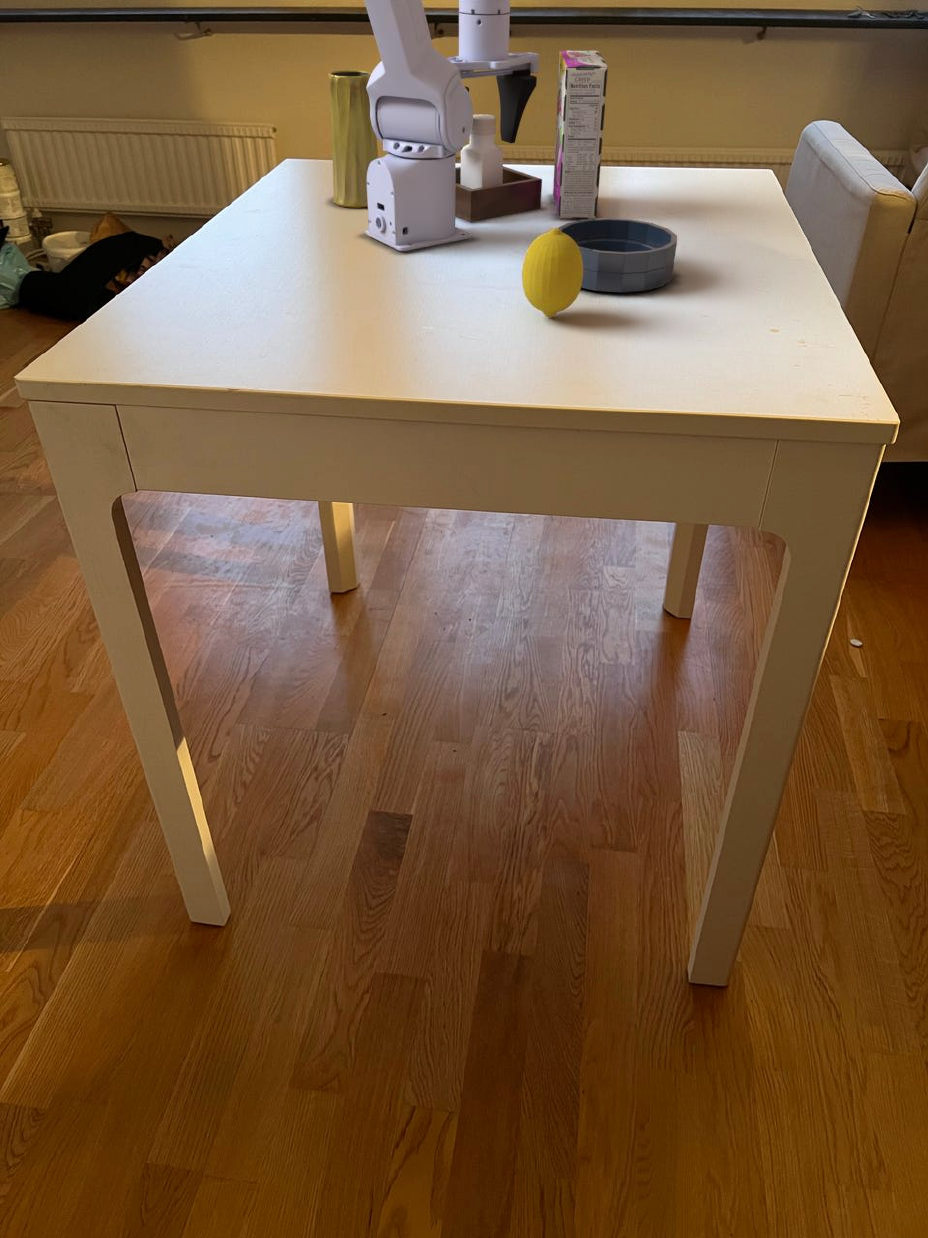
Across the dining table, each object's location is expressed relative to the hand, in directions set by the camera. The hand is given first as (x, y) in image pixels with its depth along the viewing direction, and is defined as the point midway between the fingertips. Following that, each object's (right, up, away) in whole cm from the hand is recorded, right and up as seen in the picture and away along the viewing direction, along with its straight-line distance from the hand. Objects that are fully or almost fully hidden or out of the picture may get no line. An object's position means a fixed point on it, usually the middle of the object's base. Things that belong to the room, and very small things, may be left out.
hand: (482, 144), depth 116 cm
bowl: (+13, -22, -16) cm, 30 cm away
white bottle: (0, -5, +4) cm, 7 cm away
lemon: (+6, -29, -26) cm, 40 cm away
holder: (0, -6, +4) cm, 7 cm away
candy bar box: (+11, -6, +4) cm, 13 cm away
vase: (-16, -5, +5) cm, 17 cm away
